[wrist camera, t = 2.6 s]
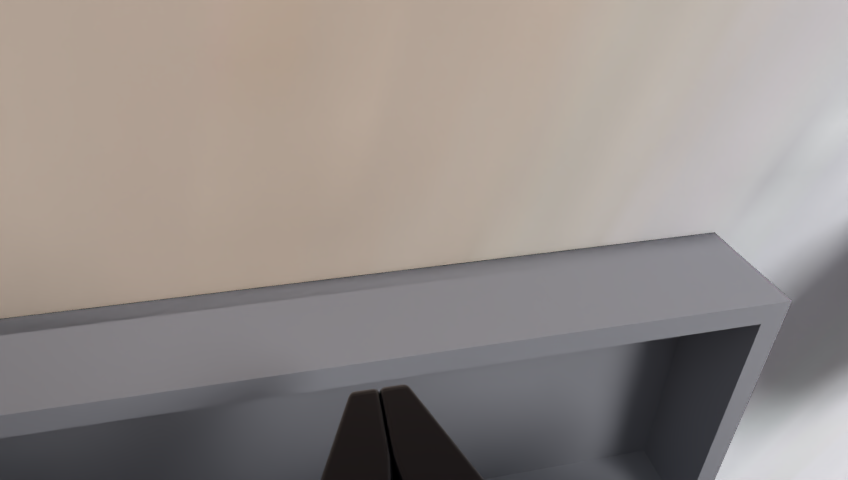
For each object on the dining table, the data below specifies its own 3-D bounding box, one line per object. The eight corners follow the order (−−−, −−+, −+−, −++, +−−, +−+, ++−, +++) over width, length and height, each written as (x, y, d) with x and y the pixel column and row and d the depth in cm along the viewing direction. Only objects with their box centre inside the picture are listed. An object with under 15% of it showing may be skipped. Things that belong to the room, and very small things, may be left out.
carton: (647, 444, 21) (696, 522, 19) (42, 553, 18) (3, 664, 15) (714, 232, 16) (792, 300, 14) (-107, 332, 13) (-198, 444, 10)
